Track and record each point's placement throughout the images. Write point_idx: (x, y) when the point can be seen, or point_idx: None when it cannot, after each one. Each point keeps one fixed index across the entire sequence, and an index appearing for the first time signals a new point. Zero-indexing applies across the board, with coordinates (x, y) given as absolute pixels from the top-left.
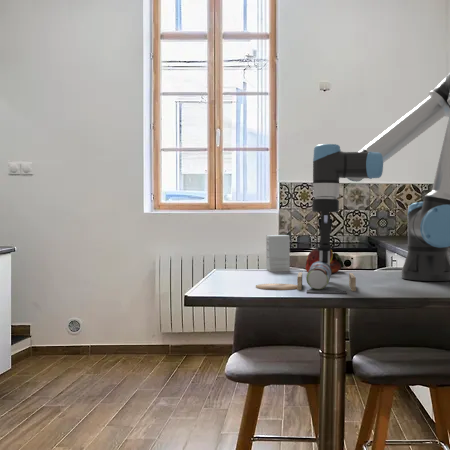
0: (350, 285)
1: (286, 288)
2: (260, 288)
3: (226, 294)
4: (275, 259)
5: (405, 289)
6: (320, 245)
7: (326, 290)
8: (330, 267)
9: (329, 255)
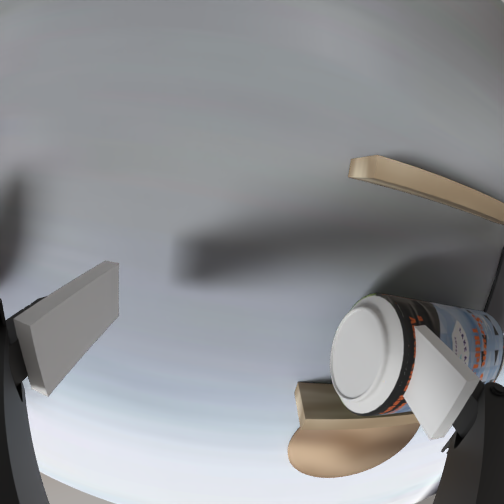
0: (449, 205)
1: None
2: (378, 463)
3: (429, 478)
4: None
5: (439, 12)
6: (25, 403)
7: (487, 311)
8: (416, 317)
9: (462, 365)
